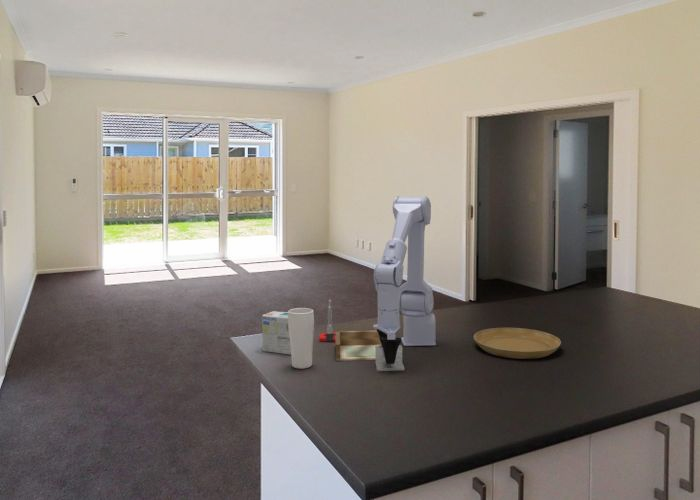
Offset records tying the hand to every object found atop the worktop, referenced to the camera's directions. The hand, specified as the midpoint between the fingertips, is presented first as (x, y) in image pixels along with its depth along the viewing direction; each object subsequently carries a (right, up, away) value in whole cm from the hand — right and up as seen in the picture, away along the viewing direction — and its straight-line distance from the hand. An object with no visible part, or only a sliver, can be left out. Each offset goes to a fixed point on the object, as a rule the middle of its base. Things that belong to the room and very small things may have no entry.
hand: (388, 359), depth 152 cm
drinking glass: (-23, -2, 0) cm, 23 cm away
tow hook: (-16, +1, +27) cm, 31 cm away
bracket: (0, -2, -2) cm, 3 cm away
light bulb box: (-29, 0, +14) cm, 33 cm away
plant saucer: (+38, 0, +13) cm, 40 cm away
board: (-6, 0, +11) cm, 13 cm away
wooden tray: (-6, 0, +11) cm, 13 cm away
